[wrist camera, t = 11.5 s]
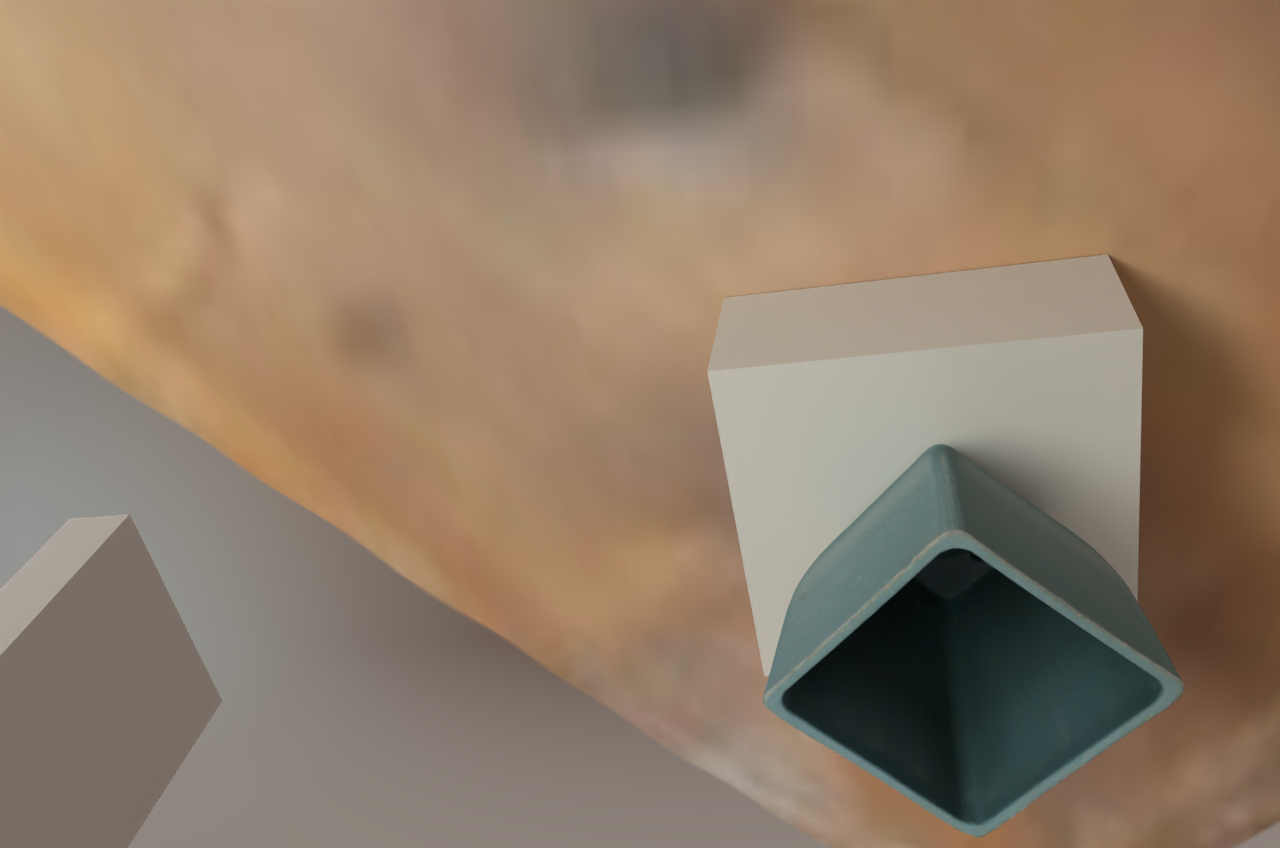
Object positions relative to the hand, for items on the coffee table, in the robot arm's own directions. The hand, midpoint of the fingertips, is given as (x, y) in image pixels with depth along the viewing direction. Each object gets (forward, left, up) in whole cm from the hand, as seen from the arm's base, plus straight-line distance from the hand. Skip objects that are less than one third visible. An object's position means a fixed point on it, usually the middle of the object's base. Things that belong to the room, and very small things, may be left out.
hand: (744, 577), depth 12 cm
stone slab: (+18, +2, -32) cm, 37 cm away
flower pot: (+18, +3, -26) cm, 32 cm away
